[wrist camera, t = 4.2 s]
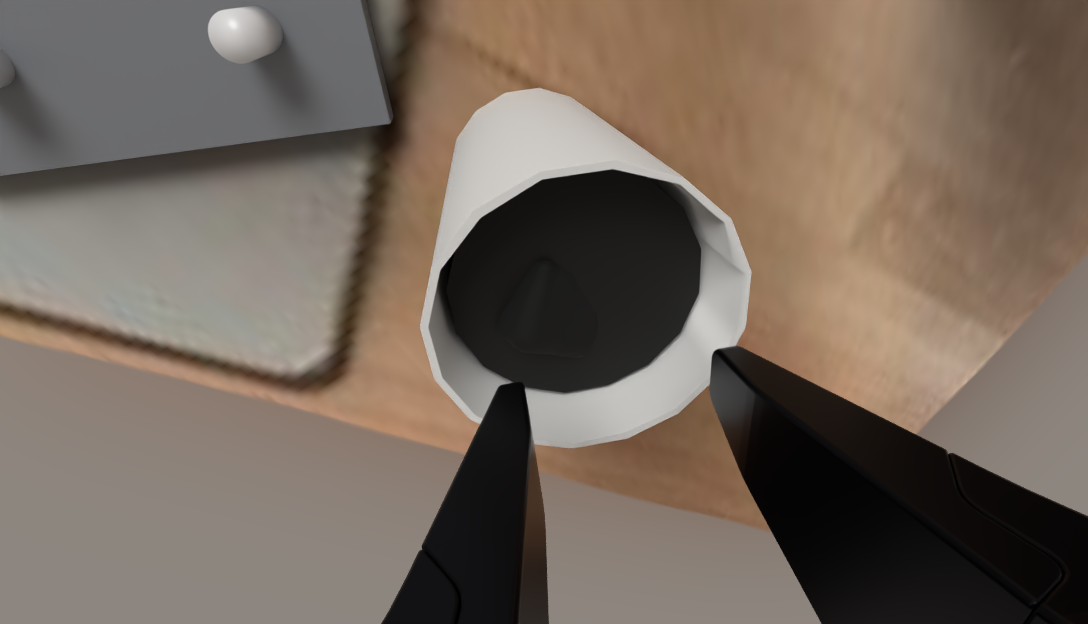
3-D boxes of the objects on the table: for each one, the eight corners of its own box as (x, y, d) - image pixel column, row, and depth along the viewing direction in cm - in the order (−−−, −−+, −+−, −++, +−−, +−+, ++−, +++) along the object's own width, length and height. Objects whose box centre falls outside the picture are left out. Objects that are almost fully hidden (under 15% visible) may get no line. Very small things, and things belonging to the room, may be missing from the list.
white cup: (569, 284, 22) (639, 476, 13) (408, 219, 20) (371, 401, 11) (659, 129, 19) (819, 248, 11) (485, 33, 17) (512, 88, 8)
